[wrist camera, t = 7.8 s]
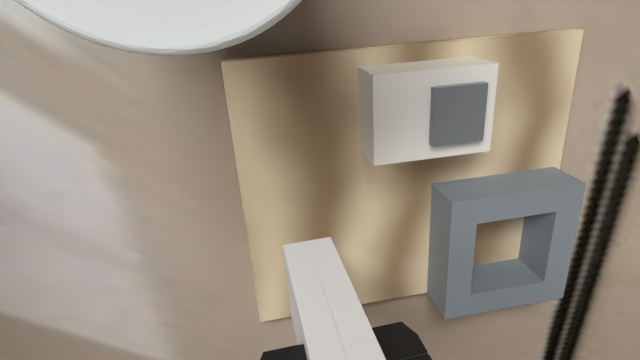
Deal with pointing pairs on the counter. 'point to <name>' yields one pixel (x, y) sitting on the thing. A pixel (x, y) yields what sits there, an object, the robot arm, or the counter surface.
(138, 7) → the supplement tub
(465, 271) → the socket
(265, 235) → the plywood panel
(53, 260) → the counter surface
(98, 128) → the counter surface
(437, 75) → the block
